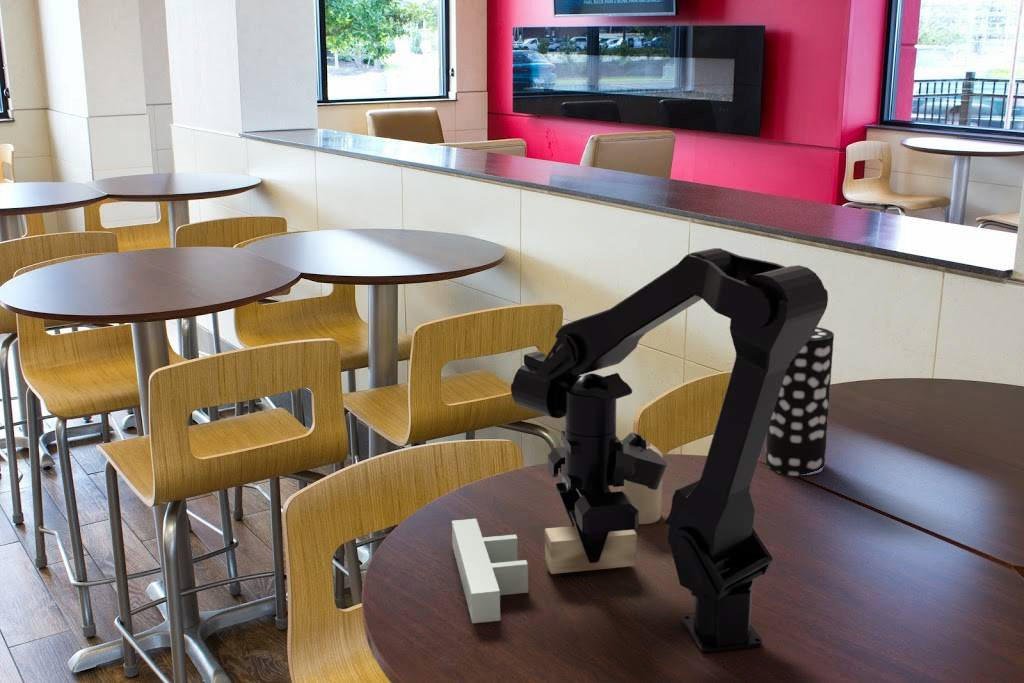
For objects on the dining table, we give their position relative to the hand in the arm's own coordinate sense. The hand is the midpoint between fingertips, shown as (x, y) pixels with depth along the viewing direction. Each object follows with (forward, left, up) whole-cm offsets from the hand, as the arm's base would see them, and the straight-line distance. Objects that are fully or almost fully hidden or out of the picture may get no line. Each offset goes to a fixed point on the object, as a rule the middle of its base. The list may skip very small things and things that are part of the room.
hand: (589, 554), depth 118 cm
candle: (+13, -10, -2) cm, 17 cm away
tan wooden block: (0, 0, -1) cm, 1 cm away
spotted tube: (+25, -37, -2) cm, 45 cm away
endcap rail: (0, +12, -2) cm, 12 cm away
